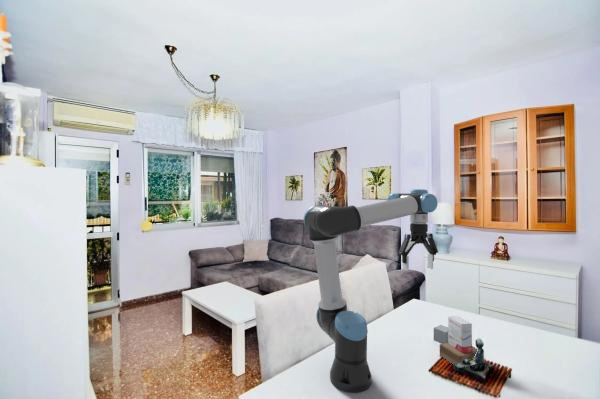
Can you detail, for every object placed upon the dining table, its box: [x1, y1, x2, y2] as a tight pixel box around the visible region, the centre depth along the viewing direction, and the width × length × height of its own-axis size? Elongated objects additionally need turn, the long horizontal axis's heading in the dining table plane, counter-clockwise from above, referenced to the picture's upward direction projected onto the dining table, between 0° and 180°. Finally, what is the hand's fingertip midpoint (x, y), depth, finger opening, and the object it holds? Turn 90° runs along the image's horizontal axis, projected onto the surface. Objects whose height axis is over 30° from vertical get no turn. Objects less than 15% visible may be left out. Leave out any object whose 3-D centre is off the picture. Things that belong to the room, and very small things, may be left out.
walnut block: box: [439, 343, 479, 366], centre depth 125 cm, size 12×10×5 cm
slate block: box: [433, 324, 448, 344], centre depth 141 cm, size 6×6×6 cm
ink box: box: [447, 315, 473, 353], centre depth 125 cm, size 9×5×12 cm, turn 11°
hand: (418, 269), depth 137 cm, fingers open, 13 cm apart
